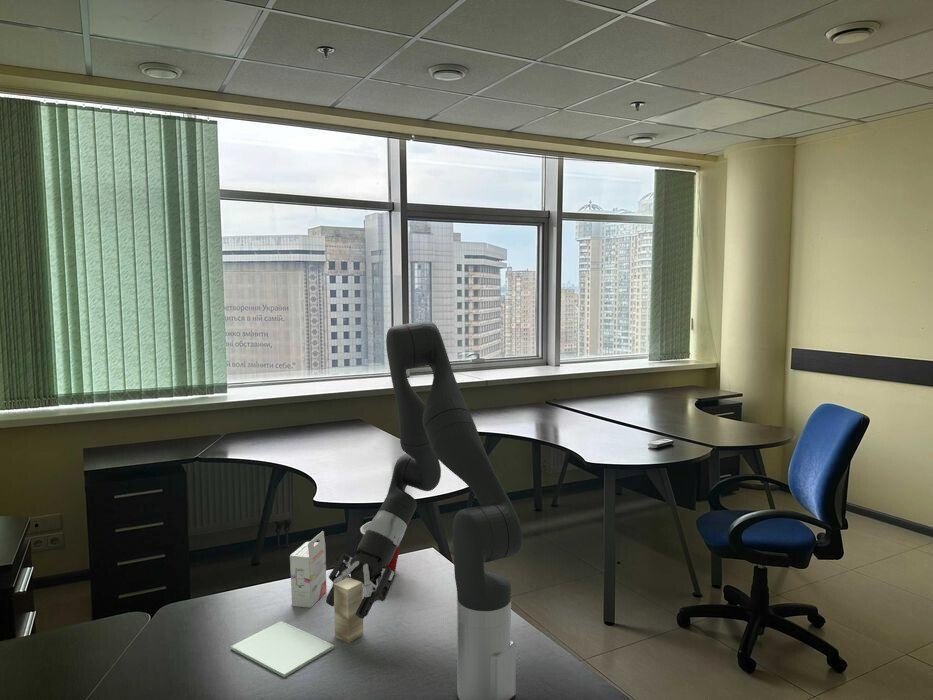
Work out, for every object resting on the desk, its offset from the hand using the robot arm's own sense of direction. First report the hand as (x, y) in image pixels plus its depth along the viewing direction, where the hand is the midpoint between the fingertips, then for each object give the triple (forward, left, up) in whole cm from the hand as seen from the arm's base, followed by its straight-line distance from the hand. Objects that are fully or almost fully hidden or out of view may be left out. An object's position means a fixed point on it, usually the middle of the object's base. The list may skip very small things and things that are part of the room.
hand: (343, 610), depth 130 cm
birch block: (0, -1, -6) cm, 6 cm away
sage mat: (+7, +10, -6) cm, 13 cm away
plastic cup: (+15, -27, -6) cm, 32 cm away
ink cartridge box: (+19, -7, -6) cm, 21 cm away
